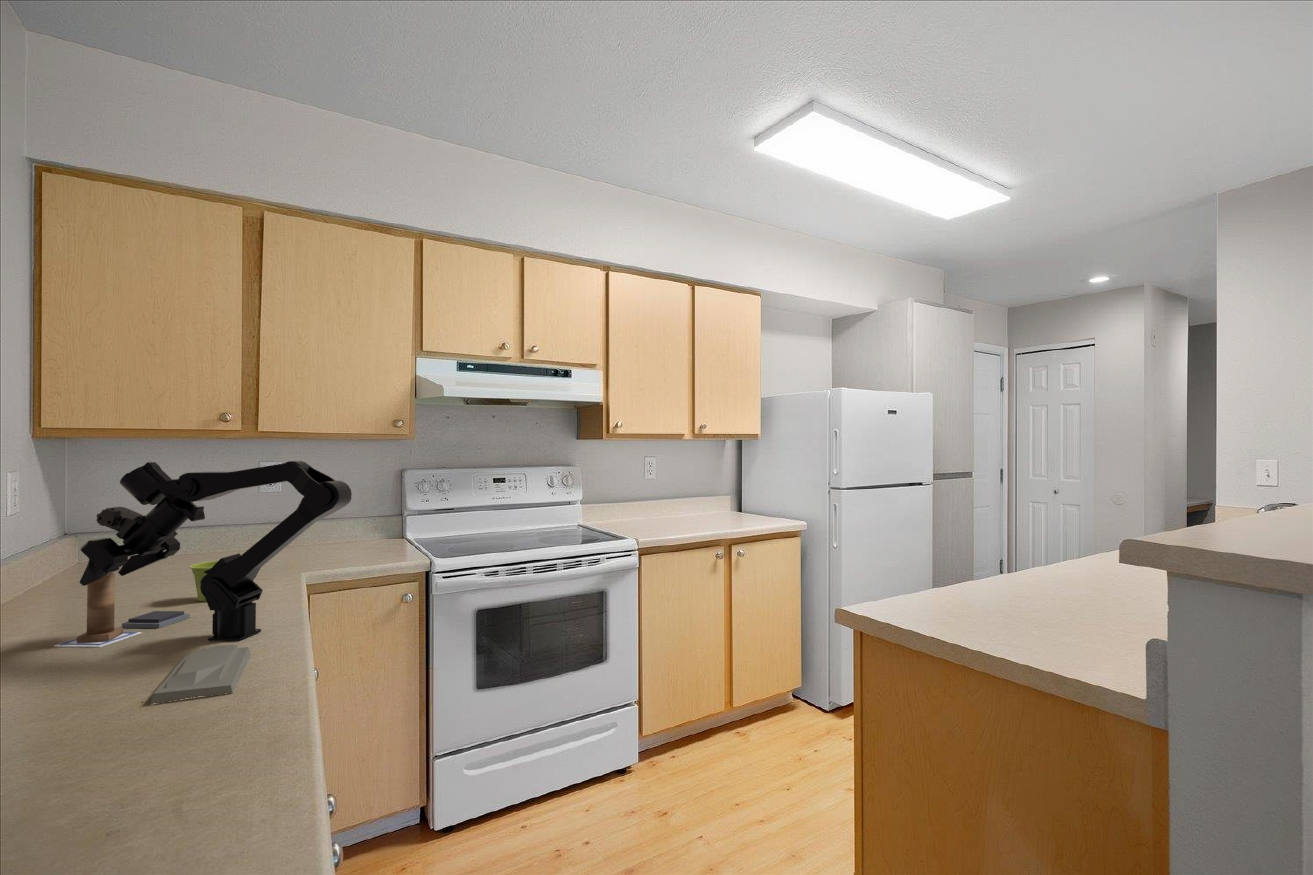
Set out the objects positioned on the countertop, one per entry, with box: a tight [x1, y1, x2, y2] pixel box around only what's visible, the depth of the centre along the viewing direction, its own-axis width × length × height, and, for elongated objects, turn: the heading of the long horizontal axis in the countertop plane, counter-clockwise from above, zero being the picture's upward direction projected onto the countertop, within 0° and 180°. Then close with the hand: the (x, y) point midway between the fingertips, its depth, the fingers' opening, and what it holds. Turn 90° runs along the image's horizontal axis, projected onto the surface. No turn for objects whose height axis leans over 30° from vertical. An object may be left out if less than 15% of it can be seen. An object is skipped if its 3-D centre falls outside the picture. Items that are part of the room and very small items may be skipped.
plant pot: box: [189, 560, 219, 603], centre depth 154 cm, size 9×9×9 cm
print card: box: [53, 631, 143, 648], centre depth 120 cm, size 9×9×1 cm
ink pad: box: [121, 610, 191, 629], centre depth 132 cm, size 8×8×2 cm
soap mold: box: [149, 644, 252, 705], centre depth 100 cm, size 10×20×4 cm, turn 26°
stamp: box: [76, 572, 124, 643], centre depth 121 cm, size 5×5×12 cm
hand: (101, 578), depth 121 cm, fingers open, 9 cm apart
